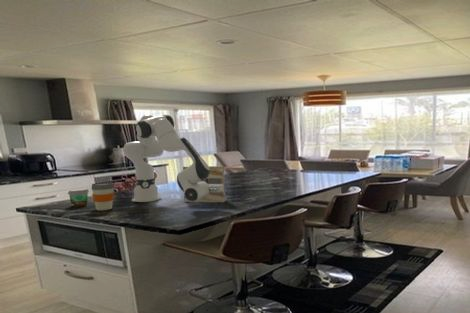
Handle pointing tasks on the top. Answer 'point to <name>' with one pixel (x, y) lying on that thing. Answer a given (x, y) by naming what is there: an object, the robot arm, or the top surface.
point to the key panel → (214, 173)
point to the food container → (78, 197)
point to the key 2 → (214, 181)
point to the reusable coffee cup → (103, 195)
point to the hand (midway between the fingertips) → (209, 185)
